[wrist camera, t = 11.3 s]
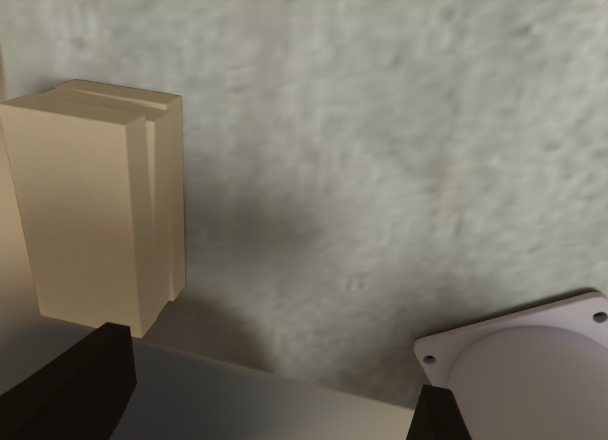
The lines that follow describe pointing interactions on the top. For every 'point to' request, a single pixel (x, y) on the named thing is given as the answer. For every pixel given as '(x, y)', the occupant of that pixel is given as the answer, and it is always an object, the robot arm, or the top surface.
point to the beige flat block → (176, 165)
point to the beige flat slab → (84, 209)
